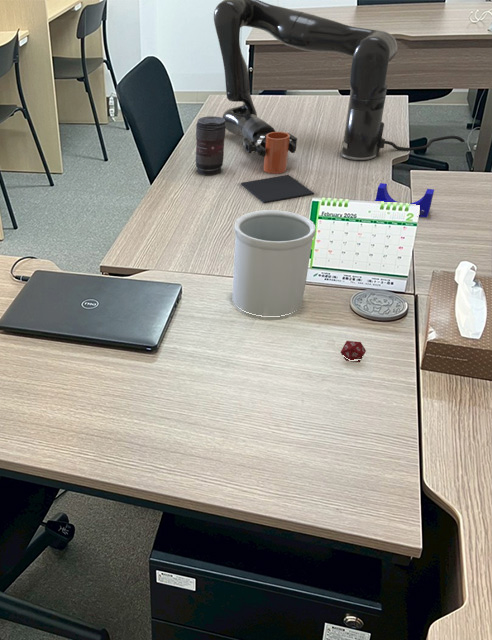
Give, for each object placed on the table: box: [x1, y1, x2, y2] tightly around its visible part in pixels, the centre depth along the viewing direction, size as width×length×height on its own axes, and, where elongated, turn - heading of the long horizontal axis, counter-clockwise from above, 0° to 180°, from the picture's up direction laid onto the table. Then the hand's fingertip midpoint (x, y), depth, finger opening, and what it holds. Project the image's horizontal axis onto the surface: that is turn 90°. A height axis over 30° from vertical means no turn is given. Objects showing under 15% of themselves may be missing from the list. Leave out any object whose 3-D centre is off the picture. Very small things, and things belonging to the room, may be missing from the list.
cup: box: [263, 131, 290, 175], centre depth 199 cm, size 6×6×10 cm
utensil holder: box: [232, 209, 316, 321], centre depth 140 cm, size 15×15×18 cm
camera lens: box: [195, 115, 226, 176], centre depth 202 cm, size 8×8×15 cm
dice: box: [340, 340, 367, 363], centre depth 125 cm, size 4×4×4 cm
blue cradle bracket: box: [374, 182, 435, 219], centre depth 171 cm, size 12×4×6 cm, turn 58°
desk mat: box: [240, 174, 315, 204], centre depth 191 cm, size 14×14×1 cm
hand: (279, 151), depth 197 cm, fingers open, 8 cm apart
